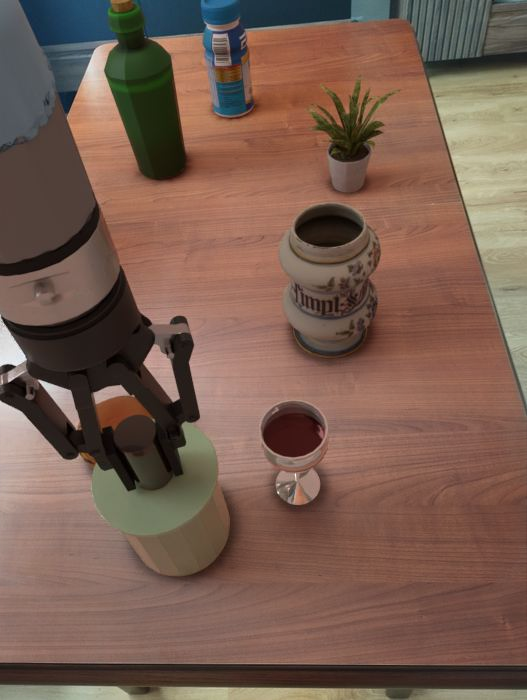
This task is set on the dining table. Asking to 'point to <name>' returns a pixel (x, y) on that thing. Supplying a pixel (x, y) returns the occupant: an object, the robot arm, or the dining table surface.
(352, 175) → the house plant
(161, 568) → the canister
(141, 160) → the bottle
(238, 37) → the beverage bottle
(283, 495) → the wineglass
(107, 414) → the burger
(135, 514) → the lid
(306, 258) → the apothecary jar
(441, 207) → the dining table surface
